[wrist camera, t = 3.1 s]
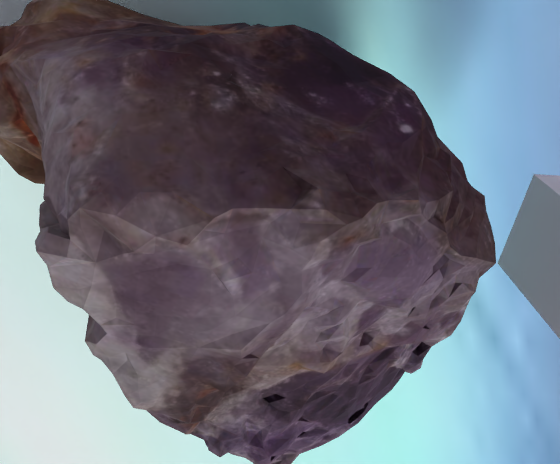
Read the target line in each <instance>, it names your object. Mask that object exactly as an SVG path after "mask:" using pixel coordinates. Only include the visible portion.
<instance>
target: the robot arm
mask: <svg viewBox="0 0 560 464" xmlns="http://www.w3.org/2000/svg"><path fill="white" fill-rule="evenodd" d="M498 264H499V265H500V267H501V268H502V269H503V270H504V272H505V273H506V274H507V275H508V276H509V278H510V279H511V280H512V281H513V283H514V284H515V285H516V286H517V287H518V289H519V290H520V291H521V292H522V294H523V295H524V296H525V297H526V298H527V300H528V301H529V302H530V303H531V304H532V306H533V307H534V308H535V309H536V311H537V312H538V313H539V314H540V315H541V317H542V318H543V319H544V320H545V322H546V323H547V324H548V325H549V326H550V328H551V329H552V330H553V331H554V333H555V334H556V335H557V336H558V337H559V339H560V176H557V175H538V174H534V175H533V178H532V180H531V183H530V185H529V188H528V190H527V193H526V195H525V197H524V200H523V202H522V205H521V207H520V210H519V212H518V215H517V217H516V220H515V222H514V224H513V227H512V229H511V232H510V234H509V237H508V239H507V242H506V244H505V246H504V249H503V251H502V254H501V256H500V259H499V261H498Z"/></svg>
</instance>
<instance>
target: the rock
mask: <svg viewBox="0 0 560 464" xmlns="http://www.w3.org/2000/svg"><path fill="white" fill-rule="evenodd" d="M0 154H1V155H2V157H3V158H4V159H5V160H6V161H7V162H8V163H9V164H10V165H11V167H12V168H13V169H14V170H15V171H16V172H17V173H18V174H19V175H21V176H23V177H25V178H26V179H28V180H30V181H32V182H34V183H40V184H45V186H44V200H45V201H44V202H43V203H42V204H41V205H40V217H39V226H40V233H39V235H38V237H37V239H36V240H35V245H36V251H37V253H38V254H39V255H40V257H41V258H42V259H43V261H44V262H45V263H46V264H47V266H48V270H49V274H50V277H51V281H52V285H53V288H54V289H55V290H56V291H57V292H58V293H60V294H61V295H62V296H63V297H64V298H65V299H66V300H67V301H68V302H70V303H72V304H74V305H76V306H78V307H80V308H82V309H84V310H85V311H86V312H87V313H88V314H89V318H88V325H87V331H86V338H85V342H86V343H87V345H88V347H89V349H90V350H91V352H92V354H93V355H94V356H96V357H98V358H99V359H101V360H102V361H103V362H104V364H105V365H106V366H107V367H108V369H109V370H110V371H111V372H112V374H113V375H114V377H115V379H116V381H117V382H118V384H119V386H120V388H121V390H122V391H123V393H124V395H125V397H126V398H127V399H128V401H129V402H130V404H131V405H132V406H133V408H138V409H144V410H147V411H148V412H149V413H150V414H151V415H152V416H154V417H155V418H156V419H157V420H158V421H159V422H161V423H163V424H165V425H167V426H169V427H172V428H174V429H176V430H178V431H180V432H182V433H184V434H192V435H194V436H197V437H199V438H201V439H204V440H205V443H206V445H207V447H208V450H209V451H211V452H212V453H214V454H216V455H217V456H219V457H221V456H223V455H224V454H226V453H228V452H229V453H230V454H233V455H237V456H240V457H244V458H246V459H248V460H250V461H251V462H253V463H254V464H291V463H292V462H293V461H294V460H295V459H296V457H297V456H298V455H299V454H301V453H303V452H306V451H308V450H311V449H314V448H316V447H319V446H321V445H323V444H325V443H327V442H329V441H331V440H333V439H335V438H337V437H339V436H340V435H342V434H343V433H345V432H346V431H347V430H349V429H350V428H352V427H353V426H354V425H356V424H357V423H359V421H360V420H361V419H362V418H363V417H364V416H365V415H366V414H367V413H368V411H369V410H370V409H371V408H372V407H373V406H374V405H375V404H376V403H377V402H378V401H379V400H380V399H381V398H383V397H384V396H385V395H386V394H387V393H388V392H389V391H391V390H392V389H393V387H394V386H395V385H396V383H397V382H398V381H399V379H400V378H401V377H402V375H403V374H404V372H405V371H406V372H408V373H413V372H415V371H416V370H418V369H420V368H421V365H422V362H423V358H424V357H425V355H426V354H427V353H428V351H429V350H430V348H431V347H432V346H433V345H435V344H436V343H438V342H440V341H441V340H443V339H445V338H447V337H449V336H450V335H451V334H452V333H453V331H454V330H455V329H456V327H457V326H458V324H459V323H460V321H461V319H462V317H463V314H464V312H465V309H466V307H467V305H468V302H469V300H470V298H471V296H472V295H473V294H474V293H475V291H476V287H477V284H478V280H479V278H480V277H481V276H482V275H483V274H484V273H485V272H486V271H488V270H489V269H490V268H491V267H492V266H493V265H494V264H495V263H496V256H495V242H494V238H493V233H492V229H491V225H490V222H489V219H488V215H487V212H486V206H485V196H484V195H482V194H481V193H480V192H478V191H477V190H476V189H474V188H473V187H472V186H471V185H470V183H469V182H468V181H467V178H466V174H465V171H464V167H463V164H462V162H461V161H460V160H459V159H458V158H457V157H456V156H455V155H454V154H453V153H452V152H451V151H450V150H449V149H448V148H447V147H446V145H445V144H444V143H443V142H442V141H441V140H440V139H439V138H438V137H437V135H436V132H435V129H434V126H433V123H432V120H431V118H430V117H429V115H428V113H427V112H426V110H425V108H424V107H423V105H422V103H421V102H420V100H419V98H418V97H417V95H416V94H415V92H414V91H413V90H412V89H410V88H409V87H407V86H406V85H405V84H403V83H402V82H401V81H399V80H398V79H397V78H395V77H394V76H392V75H391V74H389V73H388V72H386V71H384V70H382V69H380V68H378V67H376V66H374V65H372V64H370V63H368V62H366V61H364V60H362V59H360V58H358V57H356V56H354V55H352V54H351V53H349V52H348V51H346V50H345V49H343V48H341V47H340V46H338V45H337V44H335V43H334V42H332V41H331V40H329V39H327V38H325V37H323V36H322V35H320V34H318V33H315V32H312V31H310V30H307V29H304V28H301V27H298V26H296V25H285V26H275V27H268V26H264V25H260V24H257V25H253V26H250V25H248V24H247V23H235V24H225V25H214V26H182V25H178V24H174V23H171V22H167V21H164V20H160V19H156V18H153V17H149V16H145V15H143V14H140V13H138V12H135V11H133V10H130V9H128V8H125V7H123V6H120V5H118V4H115V3H113V2H110V1H108V0H33V1H31V2H30V3H29V4H27V6H26V8H25V10H24V12H23V14H22V17H21V19H20V20H18V21H17V22H15V23H14V24H12V25H10V26H2V27H0Z"/></svg>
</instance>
